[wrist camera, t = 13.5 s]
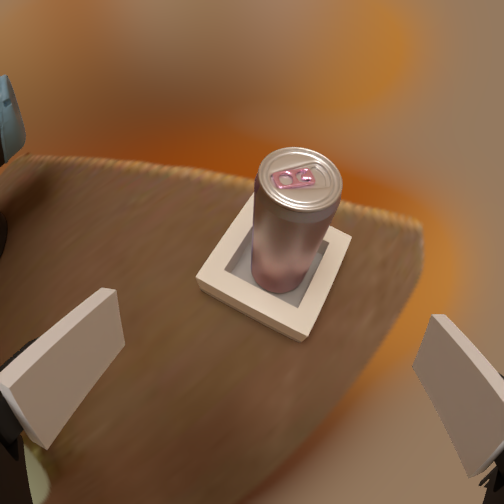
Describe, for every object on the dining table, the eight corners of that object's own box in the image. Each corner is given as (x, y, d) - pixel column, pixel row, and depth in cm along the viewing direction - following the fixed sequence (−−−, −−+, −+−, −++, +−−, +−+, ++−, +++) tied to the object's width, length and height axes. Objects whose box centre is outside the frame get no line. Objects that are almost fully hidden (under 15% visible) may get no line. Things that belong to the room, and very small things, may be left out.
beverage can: (244, 250, 32) (245, 150, 19) (295, 240, 33) (324, 141, 20) (258, 300, 30) (269, 221, 16) (311, 287, 30) (360, 204, 17)
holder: (201, 290, 31) (195, 276, 27) (253, 211, 36) (254, 191, 32) (299, 343, 29) (307, 336, 25) (341, 253, 33) (351, 236, 30)
